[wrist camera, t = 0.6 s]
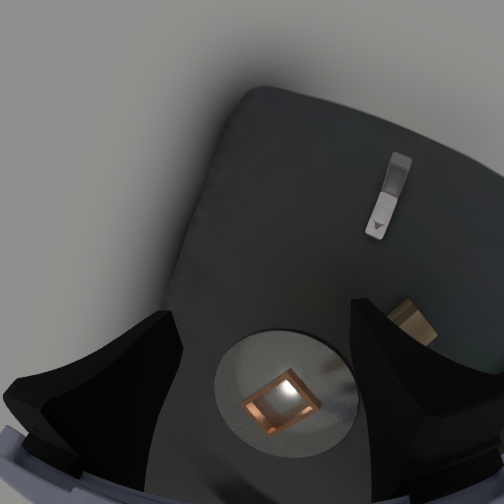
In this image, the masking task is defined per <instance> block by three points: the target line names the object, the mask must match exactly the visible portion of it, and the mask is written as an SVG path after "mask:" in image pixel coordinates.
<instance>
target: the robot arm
mask: <svg viewBox="0 0 504 504" xmlns="http://www.w3.org/2000/svg"><path fill="white" fill-rule="evenodd" d="M349 343H350V350H351V356H352V363H353V366H354V370H355V374H356V377H357V381H358V384H359V388H360V392H361V395H362V399H363V403H364V407H365V412H366V417H367V425H368V433H369V444H370V456H371V477H372V501H371V504H504V452H503V453H502V454H501V455H500V453H499V450H498V447H499V446H500V445H501V440H500V438H499V434H500V432H501V431H502V430H503V428H504V377H500V376H496V375H492V374H488V373H484V372H480V371H477V370H475V369H472V368H469V367H466V366H464V365H461V364H459V363H456V362H454V361H452V360H450V359H448V358H446V357H444V356H442V355H440V354H438V353H436V352H434V351H433V350H431V349H429V348H428V347H426V346H425V345H423V344H421V343H420V342H418V341H417V340H415V339H414V338H413V337H411V336H410V335H409V334H407V333H406V332H405V331H403V330H402V329H401V328H400V327H398V326H397V325H396V324H395V323H393V322H392V321H391V320H390V319H389V318H388V317H387V316H385V315H384V314H383V313H382V312H381V311H380V310H379V309H378V308H377V307H376V306H375V305H374V304H373V303H371V302H370V301H369V300H368V299H367V298H362V299H353V300H351V317H350V336H349ZM183 349H184V348H183V345H182V342H181V340H180V337H179V334H178V331H177V328H176V325H175V322H174V319H173V316H172V313H171V311H157V312H155V313H153V314H152V315H150V316H148V317H147V318H145V319H144V320H143V321H141V322H140V323H138V324H137V325H135V326H134V327H133V328H131V329H130V330H128V331H127V332H125V333H124V334H122V335H121V336H119V337H118V338H116V339H115V340H113V341H112V342H110V343H109V344H107V345H106V346H104V347H103V348H101V349H99V350H97V351H95V352H94V353H92V354H90V355H88V356H86V357H84V358H82V359H80V360H77V361H75V362H73V363H71V364H68V365H65V366H63V367H60V368H57V369H54V370H51V371H48V372H44V373H41V374H37V375H32V376H27V377H22V378H17V379H16V380H15V381H14V382H13V383H12V384H11V385H10V387H9V388H8V389H7V390H6V391H5V393H4V394H3V400H4V402H5V404H6V406H7V407H8V408H9V410H10V411H11V413H12V414H13V415H14V417H15V418H16V419H17V420H18V421H19V422H20V424H21V425H22V426H23V427H24V428H25V429H26V430H27V431H28V432H29V434H28V435H27V437H25V436H24V435H22V434H21V433H20V432H18V431H17V430H15V429H13V428H12V427H10V426H8V425H6V426H5V428H4V429H3V431H2V432H1V434H0V478H1V479H2V480H3V481H4V482H6V483H7V484H8V485H9V486H10V487H12V488H13V489H14V490H15V491H17V492H18V493H19V494H20V495H22V496H23V497H24V498H26V499H27V500H28V501H30V502H31V503H33V504H193V503H187V502H182V501H177V500H173V499H168V498H164V497H160V496H156V495H152V494H148V493H145V492H144V485H145V476H146V468H147V462H148V456H149V451H150V446H151V442H152V438H153V433H154V430H155V426H156V422H157V419H158V416H159V413H160V410H161V408H162V405H163V403H164V401H165V398H166V396H167V394H168V391H169V389H170V387H171V385H172V382H173V380H174V377H175V375H176V373H177V370H178V368H179V364H180V361H181V357H182V353H183Z"/></svg>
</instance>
